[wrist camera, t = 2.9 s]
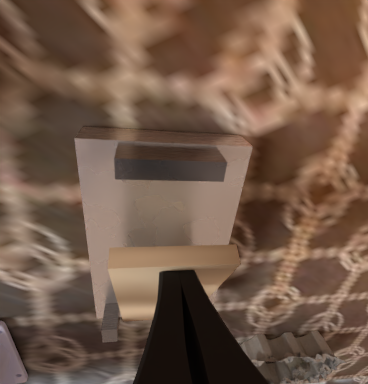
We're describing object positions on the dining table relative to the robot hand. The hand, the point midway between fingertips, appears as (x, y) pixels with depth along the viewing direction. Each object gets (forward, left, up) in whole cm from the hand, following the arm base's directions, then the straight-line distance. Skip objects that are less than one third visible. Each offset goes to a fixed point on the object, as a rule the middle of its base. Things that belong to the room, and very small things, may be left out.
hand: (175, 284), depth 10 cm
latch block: (-3, 0, -7) cm, 8 cm away
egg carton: (-21, -15, -8) cm, 27 cm away
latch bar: (-3, 0, -3) cm, 4 cm away
